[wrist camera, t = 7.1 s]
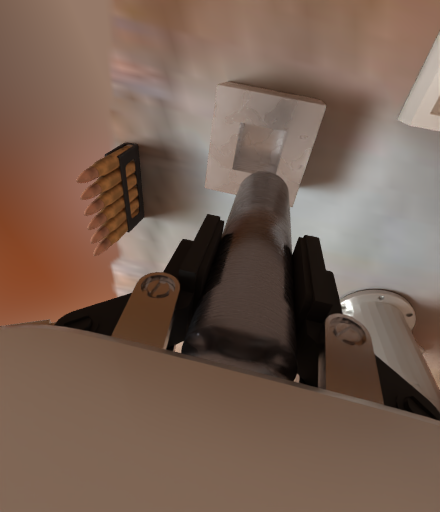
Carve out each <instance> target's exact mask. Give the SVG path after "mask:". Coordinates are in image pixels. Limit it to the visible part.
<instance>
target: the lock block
mask: <svg viewBox="0 0 440 512" xmlns="http://www.w3.org/2000/svg"><path fill="white" fill-rule="evenodd" d="M325 109H326V105H325V104H324V103H323V102H322V101H321V100H320V99H316V98H311V97H306V96H301V95H295V94H290V93H285V92H280V91H275V90H270V89H264V88H259V87H254V86H249V85H244V84H238V83H233V82H224V83H221V84H217V91H216V99H215V107H214V115H213V123H212V132H211V140H210V148H209V156H208V164H207V172H206V180H205V188H207V189H212V190H216V191H221V192H226V193H230V194H235V195H237V192H238V189H239V186H240V185H241V183H242V181H243V180H244V179H245V178H246V177H248V176H249V175H251V174H253V173H256V172H260V171H267V172H272V173H275V174H276V175H278V176H280V177H281V178H282V179H283V180H284V182H285V183H286V185H287V187H288V190H289V204H290V207H293V204H294V201H295V198H296V195H297V192H298V189H299V186H300V183H301V180H302V177H303V174H304V171H305V168H306V165H307V162H308V159H309V156H310V154H311V151H312V148H313V145H314V142H315V139H316V136H317V133H318V130H319V127H320V124H321V121H322V118H323V115H324V112H325Z"/></svg>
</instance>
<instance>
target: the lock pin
mask: <svg viewBox="0 0 440 512" xmlns="http://www.w3.org/2000/svg"><path fill="white" fill-rule="evenodd" d="M181 353H182V354H186V355H190V356H194V357H198V358H202V359H206V360H210V361H214V362H218V363H222V364H226V365H230V366H234V367H238V368H242V369H246V370H250V371H254V372H258V373H262V374H266V375H270V376H274V377H278V378H282V379H286V380H289V381H294V379H295V378H296V375H297V370H298V363H297V343H296V323H295V303H294V283H293V264H292V244H291V224H290V204H289V190H288V187H287V185H286V183H285V182H284V180H283V179H282V178H281V177H280V176H278V175H276V174H275V173H272V172H267V171H260V172H256V173H253V174H251V175H249V176H248V177H246V178H245V179H244V180H243V181H242V183H241V185H240V186H239V189H238V192H237V195H236V198H235V200H234V203H233V206H232V209H231V212H230V214H229V217H228V220H227V223H226V226H225V228H224V231H223V234H222V238H221V241H220V244H219V247H218V250H217V252H216V255H215V258H214V261H213V264H212V267H211V269H210V272H209V275H208V278H207V281H206V283H205V286H204V289H203V292H202V295H201V298H200V300H199V301H198V304H197V306H196V309H195V312H194V315H193V318H192V320H191V323H190V326H189V329H188V332H187V334H186V337H185V340H184V343H183V346H182V351H181Z"/></svg>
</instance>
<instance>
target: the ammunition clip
mask: <svg viewBox="0 0 440 512" xmlns="http://www.w3.org/2000/svg"><path fill="white" fill-rule="evenodd" d="M100 176H101V177H100ZM98 177H99V178H98ZM95 178H98V179H97V181H96V182H94V183H93V184H92V185H90V186H89V187H88V188H87V189H85V191H84V192H83V193H82V195H81V197H80V199H81V200H86V199H91V198H93V197H95V196H97V195H98V194H100V193H101V194H100V195H99V197H98V198H96V199H95V200H94V201H93V202H92V203H91V204H90V205H89V206H88V207H87V209H86V210H85V212H84V215H85V216H88V215H92V214H94V213H96V212H98V211H100V210H101V209H102V210H101V211H100V212H99V213H98V214H97V215H96V216H95V217H94V218H93V219H92V220H91V221H90V223H89V225H88V228H87V229H88V230H92V229H95V228H97V227H99V226H100V225H102V224H103V225H102V226H101V227H100V228H99V229H98V230H97V231H96V232H95V233H94V235H93V236H92V238H91V243H96V242H98V241H100V240H102V241H101V242H100V243H99V244H98V246H97V247H96V249H95V251H94V256H97V255H99V254H101V253H103V252H104V251H105V250H107V249H108V248H109V247H110V246H111V245H112V244H114V243H115V242H117V241H118V240H119V239H120V238H121V237H122V236H123V235H124V234H125V233H126V232H130V231H131V230H132V229H133V228H134V227H135V226H136V225H137V224H138V223H139V222H140V221H141V220H142V219H143V218H144V207H143V195H142V184H141V173H140V162H139V151H138V145H137V144H132V143H123V144H122V145H120V146H118V147H117V148H115V149H113V150H112V151H110V152H108V153H107V154H105V157H104V158H102V159H100V160H98V161H97V162H95V163H94V164H93V165H92V166H91V167H89V168H88V169H86V170H84V171H83V172H82V173H81V174H80V175H79V176H78V178H77V180H76V182H77V183H86V182H89V181H92V180H94V179H95Z"/></svg>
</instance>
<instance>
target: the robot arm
mask: <svg viewBox="0 0 440 512" xmlns="http://www.w3.org/2000/svg"><path fill="white" fill-rule="evenodd" d="M223 226H224V221H222V220H220V217H219V216H214V215H210V214H207V216H206V218H205V220H204V222H203V224H202V226H201V228H200V230H199V232H198V233H197V235H196V237H195V239H194V241H191V240H187V239H182V241H181V242H180V244H179V246H178V247H177V249H176V251H175V253H174V254H173V256H172V258H171V260H170V261H169V263H168V265H167V266H166V268H165V270H164V272H155V273H150V274H147V275H145V276H143V277H142V278H140V279H139V281H138V282H137V284H136V286H135V288H134V290H133V292H132V293H130V294H127V295H124V296H120V297H117V298H114V299H111V300H108V301H105V302H101V303H98V304H95V305H92V306H89V307H86V308H83V309H79V310H76V311H73V312H71V313H68V314H66V315H65V316H63V317H62V318H60V319H59V320H58V321H57V322H55V323H51V321H50V320H42V321H35V322H27V323H20V324H13V325H6V326H0V512H440V389H439V387H438V385H437V383H436V381H435V379H434V377H433V375H432V373H431V371H430V369H429V367H428V365H427V363H426V361H425V359H424V357H423V352H424V348H423V347H421V346H420V345H418V344H417V342H416V340H415V338H414V336H413V334H412V332H411V331H412V329H413V327H414V326H415V322H416V314H415V312H414V310H413V308H412V306H411V305H410V303H409V302H408V301H407V300H406V299H405V298H403V297H402V296H400V295H398V294H395V293H393V292H389V291H384V290H364V291H359V292H355V293H352V294H350V295H347V296H345V297H344V298H342V299H339V295H338V291H337V287H336V283H335V279H334V275H333V272H331V271H327V270H326V269H325V264H324V259H323V254H322V250H321V245H320V240H319V238H317V237H313V236H308V235H305V236H304V237H303V238H301V237H299V238H298V241H297V243H296V246H295V249H294V252H293V255H292V264H293V283H294V303H295V323H296V343H297V363H298V370H297V375H296V378H295V382H293V381H289V380H286V379H282V378H278V377H274V376H270V375H266V374H262V373H258V372H254V371H250V370H246V369H242V368H238V367H234V366H230V365H226V364H222V363H218V362H214V361H210V360H206V359H202V358H198V357H194V356H190V355H186V354H182V353H178V352H175V349H176V344H178V343H180V342H182V341H184V340H185V337H186V334H187V332H188V329H189V326H190V323H191V320H192V318H193V315H194V312H195V309H196V306H197V304H198V301H199V300H200V298H201V295H202V292H203V289H204V286H205V283H206V281H207V278H208V275H209V272H210V269H211V267H212V264H213V261H214V258H215V255H216V252H217V250H218V247H219V244H220V241H221V238H222V232H223Z"/></svg>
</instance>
